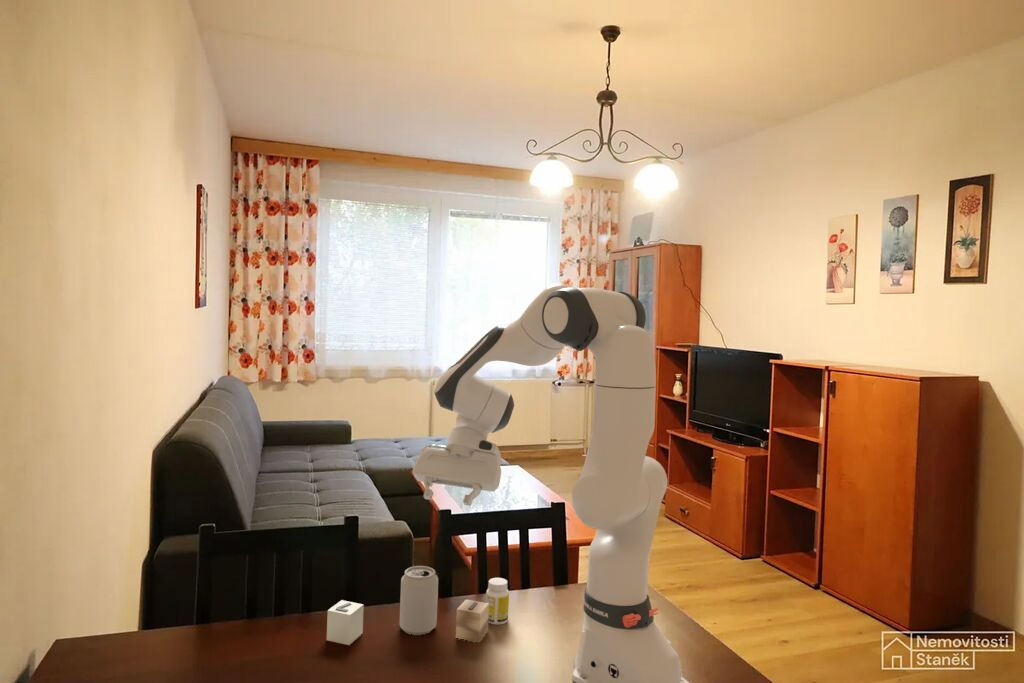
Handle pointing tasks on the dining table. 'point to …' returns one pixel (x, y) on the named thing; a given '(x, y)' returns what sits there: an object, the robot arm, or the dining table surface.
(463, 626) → the birch block one
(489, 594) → the supplement bottle
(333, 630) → the cream white block seven
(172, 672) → the dining table surface
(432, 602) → the can
